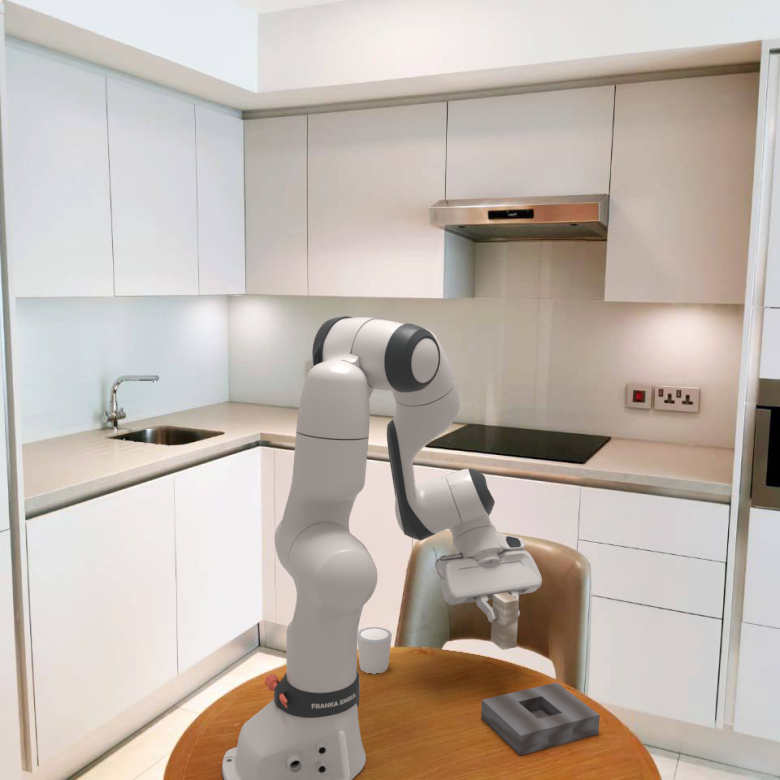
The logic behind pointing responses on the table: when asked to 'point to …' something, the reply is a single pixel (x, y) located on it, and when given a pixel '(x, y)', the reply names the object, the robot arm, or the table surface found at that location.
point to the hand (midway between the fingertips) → (505, 618)
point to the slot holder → (539, 718)
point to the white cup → (374, 649)
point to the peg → (505, 621)
